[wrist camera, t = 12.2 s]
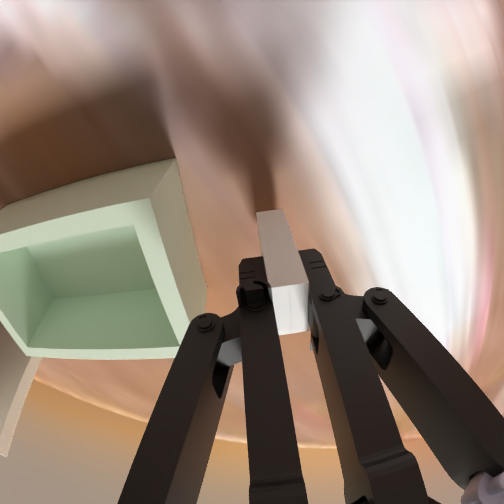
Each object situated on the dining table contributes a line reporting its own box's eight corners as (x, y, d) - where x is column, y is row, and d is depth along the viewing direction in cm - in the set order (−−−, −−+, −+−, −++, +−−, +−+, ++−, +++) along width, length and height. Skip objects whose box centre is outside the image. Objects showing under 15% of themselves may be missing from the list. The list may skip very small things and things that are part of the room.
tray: (6, 205, 16) (-42, 248, 11) (175, 157, 16) (149, 197, 11) (53, 303, 21) (26, 355, 16) (207, 288, 21) (202, 356, 16)
